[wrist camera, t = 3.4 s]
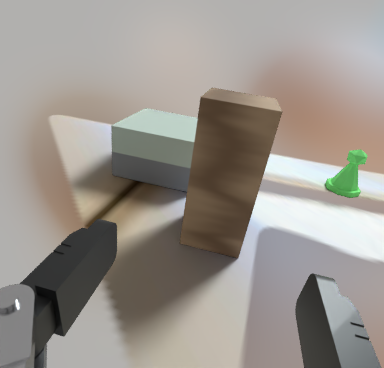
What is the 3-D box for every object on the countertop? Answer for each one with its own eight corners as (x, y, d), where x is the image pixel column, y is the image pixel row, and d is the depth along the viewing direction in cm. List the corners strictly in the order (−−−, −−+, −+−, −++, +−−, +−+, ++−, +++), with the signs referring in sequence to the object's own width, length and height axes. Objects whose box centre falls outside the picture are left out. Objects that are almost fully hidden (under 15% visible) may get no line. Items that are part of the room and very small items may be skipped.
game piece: (319, 180, 37) (335, 141, 34) (346, 183, 38) (365, 145, 35) (335, 196, 33) (355, 154, 30) (365, 199, 34) (388, 157, 31)
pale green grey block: (207, 161, 38) (214, 121, 35) (194, 193, 29) (202, 143, 26) (143, 147, 39) (145, 108, 36) (112, 175, 30) (111, 125, 27)
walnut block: (240, 223, 25) (275, 98, 20) (238, 258, 21) (282, 111, 15) (191, 211, 26) (212, 87, 20) (179, 243, 22) (200, 97, 16)
